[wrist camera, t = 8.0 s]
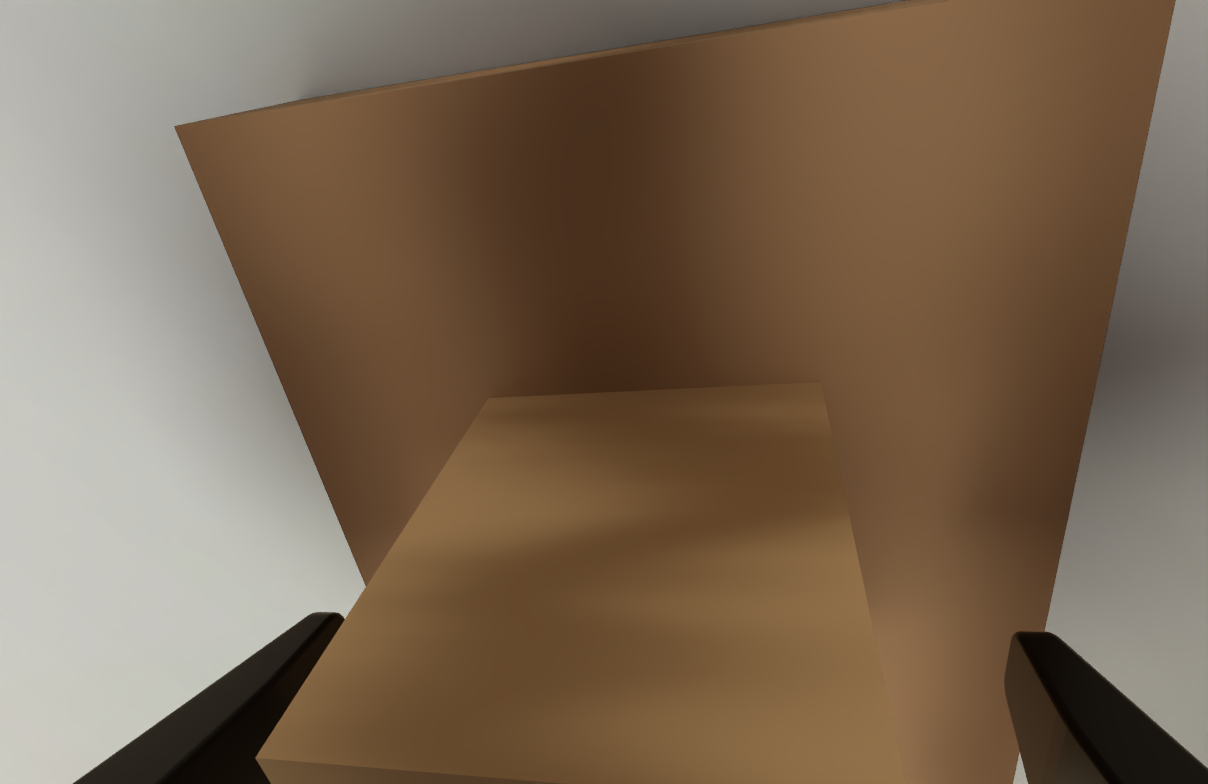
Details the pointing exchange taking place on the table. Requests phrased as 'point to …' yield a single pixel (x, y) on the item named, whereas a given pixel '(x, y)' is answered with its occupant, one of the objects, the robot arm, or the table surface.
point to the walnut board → (735, 282)
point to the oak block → (611, 608)
